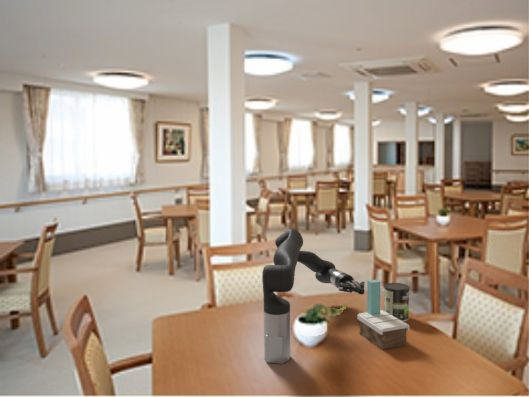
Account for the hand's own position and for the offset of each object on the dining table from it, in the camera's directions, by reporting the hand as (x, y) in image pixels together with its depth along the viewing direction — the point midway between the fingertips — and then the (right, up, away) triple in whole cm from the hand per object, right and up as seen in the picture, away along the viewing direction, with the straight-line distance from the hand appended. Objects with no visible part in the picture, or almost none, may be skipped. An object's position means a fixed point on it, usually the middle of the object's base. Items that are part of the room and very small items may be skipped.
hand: (362, 292), depth 188 cm
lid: (+5, -10, -13) cm, 17 cm away
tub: (+5, -16, -12) cm, 21 cm away
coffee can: (+17, -14, +11) cm, 24 cm away
